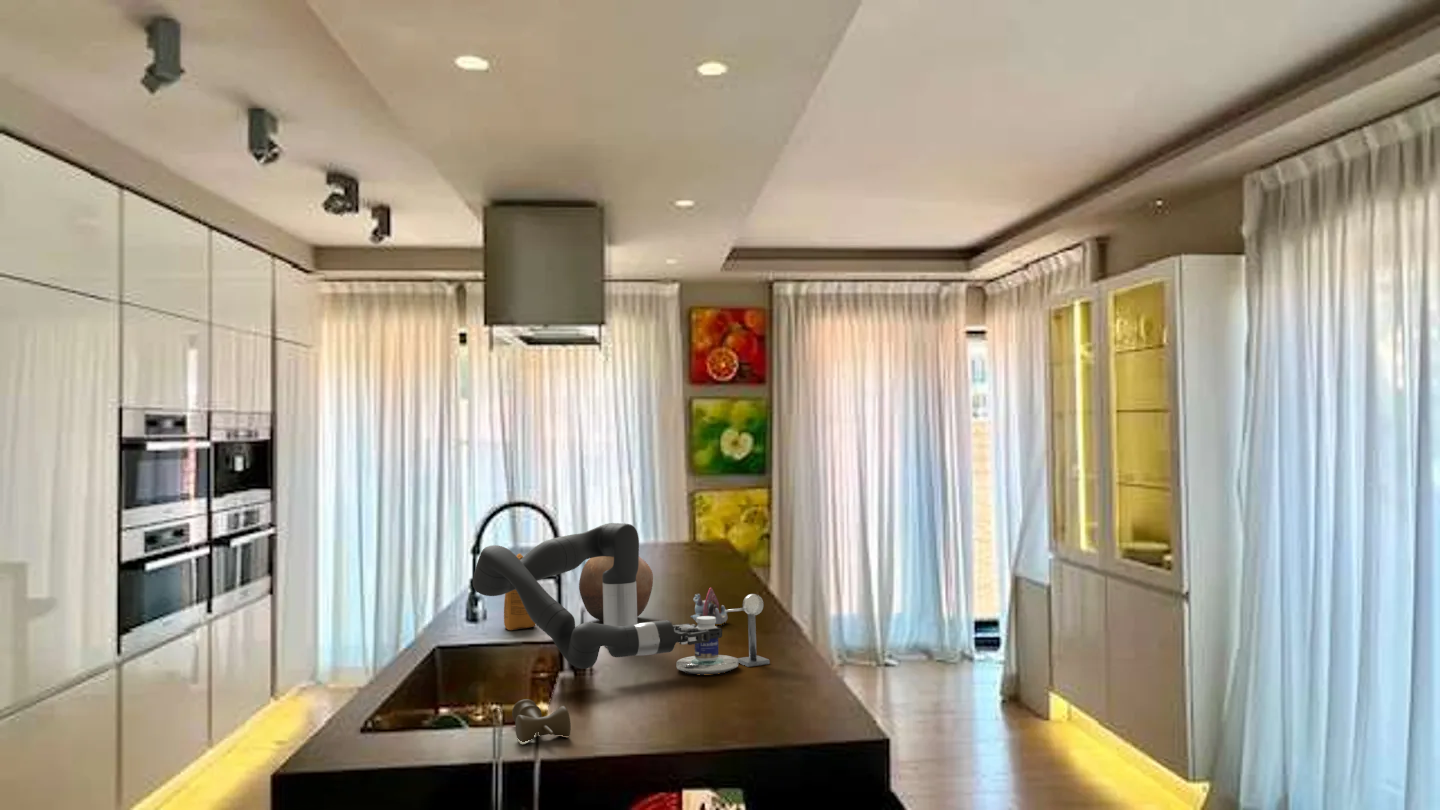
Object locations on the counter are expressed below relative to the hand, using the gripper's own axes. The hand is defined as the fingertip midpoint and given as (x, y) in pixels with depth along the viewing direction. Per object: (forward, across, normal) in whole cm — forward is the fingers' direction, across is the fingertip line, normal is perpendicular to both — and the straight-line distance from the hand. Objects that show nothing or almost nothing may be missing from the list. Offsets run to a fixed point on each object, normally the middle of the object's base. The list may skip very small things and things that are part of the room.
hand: (715, 630), depth 241 cm
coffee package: (-25, -84, -10) cm, 88 cm away
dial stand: (+8, 0, -9) cm, 12 cm away
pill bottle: (-2, 0, -7) cm, 7 cm away
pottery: (+3, -75, -9) cm, 76 cm away
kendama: (-53, +30, -10) cm, 62 cm away
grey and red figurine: (+24, -54, -9) cm, 59 cm away
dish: (-2, 0, -9) cm, 10 cm away
